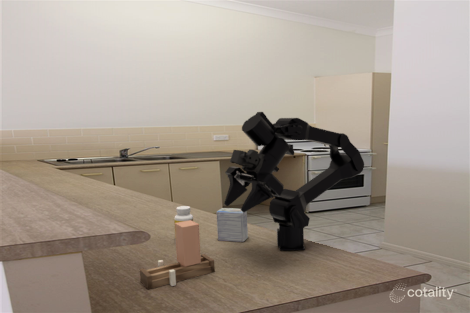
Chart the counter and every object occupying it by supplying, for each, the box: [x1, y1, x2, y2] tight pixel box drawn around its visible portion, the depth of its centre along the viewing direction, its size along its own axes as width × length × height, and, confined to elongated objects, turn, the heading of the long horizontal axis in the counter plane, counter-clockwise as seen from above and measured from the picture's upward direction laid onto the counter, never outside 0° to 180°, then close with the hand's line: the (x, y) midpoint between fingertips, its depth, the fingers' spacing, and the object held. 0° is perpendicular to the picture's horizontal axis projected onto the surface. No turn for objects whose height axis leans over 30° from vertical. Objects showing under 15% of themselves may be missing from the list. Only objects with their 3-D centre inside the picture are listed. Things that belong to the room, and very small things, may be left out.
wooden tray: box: [139, 253, 216, 290], centre depth 92 cm, size 16×5×3 cm, turn 121°
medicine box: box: [216, 207, 249, 243], centre depth 118 cm, size 8×4×9 cm, turn 71°
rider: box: [174, 220, 202, 267], centre depth 93 cm, size 4×4×10 cm
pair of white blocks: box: [157, 259, 177, 287], centre depth 91 cm, size 1×8×3 cm, turn 31°
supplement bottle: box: [173, 205, 194, 242], centre depth 118 cm, size 5×5×10 cm
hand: (233, 208), depth 99 cm, fingers open, 8 cm apart
